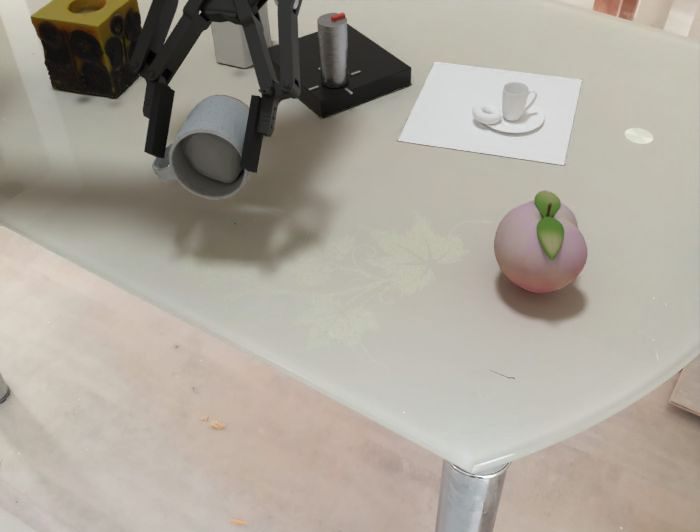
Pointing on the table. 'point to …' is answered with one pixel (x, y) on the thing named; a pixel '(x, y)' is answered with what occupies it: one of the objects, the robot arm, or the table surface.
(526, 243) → the decorative fruit
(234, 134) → the ceramic mug
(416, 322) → the table surface
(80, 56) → the candle
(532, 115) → the teacup and saucer
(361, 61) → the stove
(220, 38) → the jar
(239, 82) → the table surface
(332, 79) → the silver cylinder
